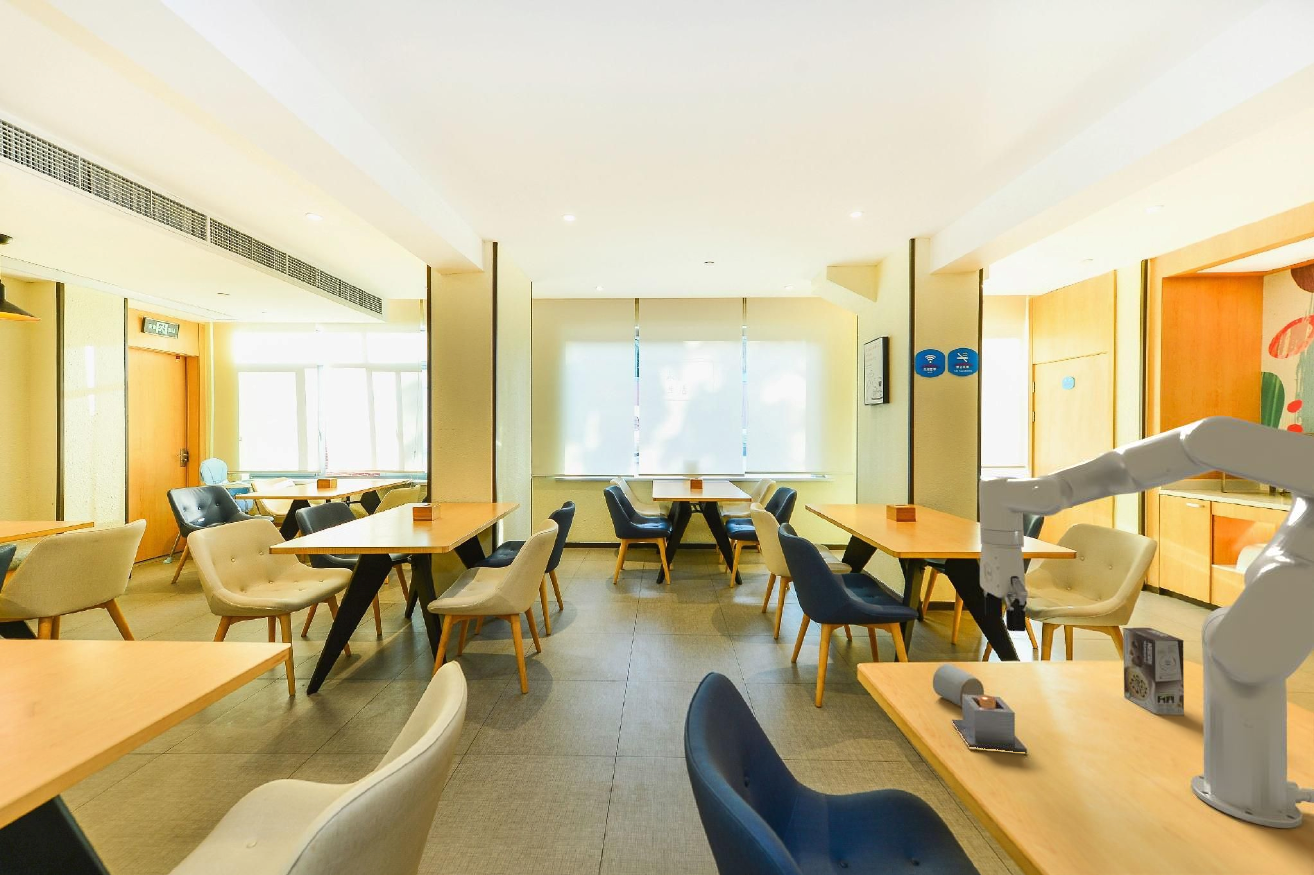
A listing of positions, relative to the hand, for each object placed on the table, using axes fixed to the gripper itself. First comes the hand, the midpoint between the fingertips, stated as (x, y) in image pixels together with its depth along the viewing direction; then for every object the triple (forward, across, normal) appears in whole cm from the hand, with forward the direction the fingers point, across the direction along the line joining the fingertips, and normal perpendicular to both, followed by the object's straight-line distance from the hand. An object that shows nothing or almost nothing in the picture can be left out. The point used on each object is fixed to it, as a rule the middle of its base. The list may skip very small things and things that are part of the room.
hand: (1004, 623), depth 116 cm
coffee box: (+23, -18, +38) cm, 48 cm away
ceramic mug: (+22, -15, -3) cm, 27 cm away
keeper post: (+22, +2, -5) cm, 23 cm away
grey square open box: (+21, +2, -5) cm, 22 cm away
